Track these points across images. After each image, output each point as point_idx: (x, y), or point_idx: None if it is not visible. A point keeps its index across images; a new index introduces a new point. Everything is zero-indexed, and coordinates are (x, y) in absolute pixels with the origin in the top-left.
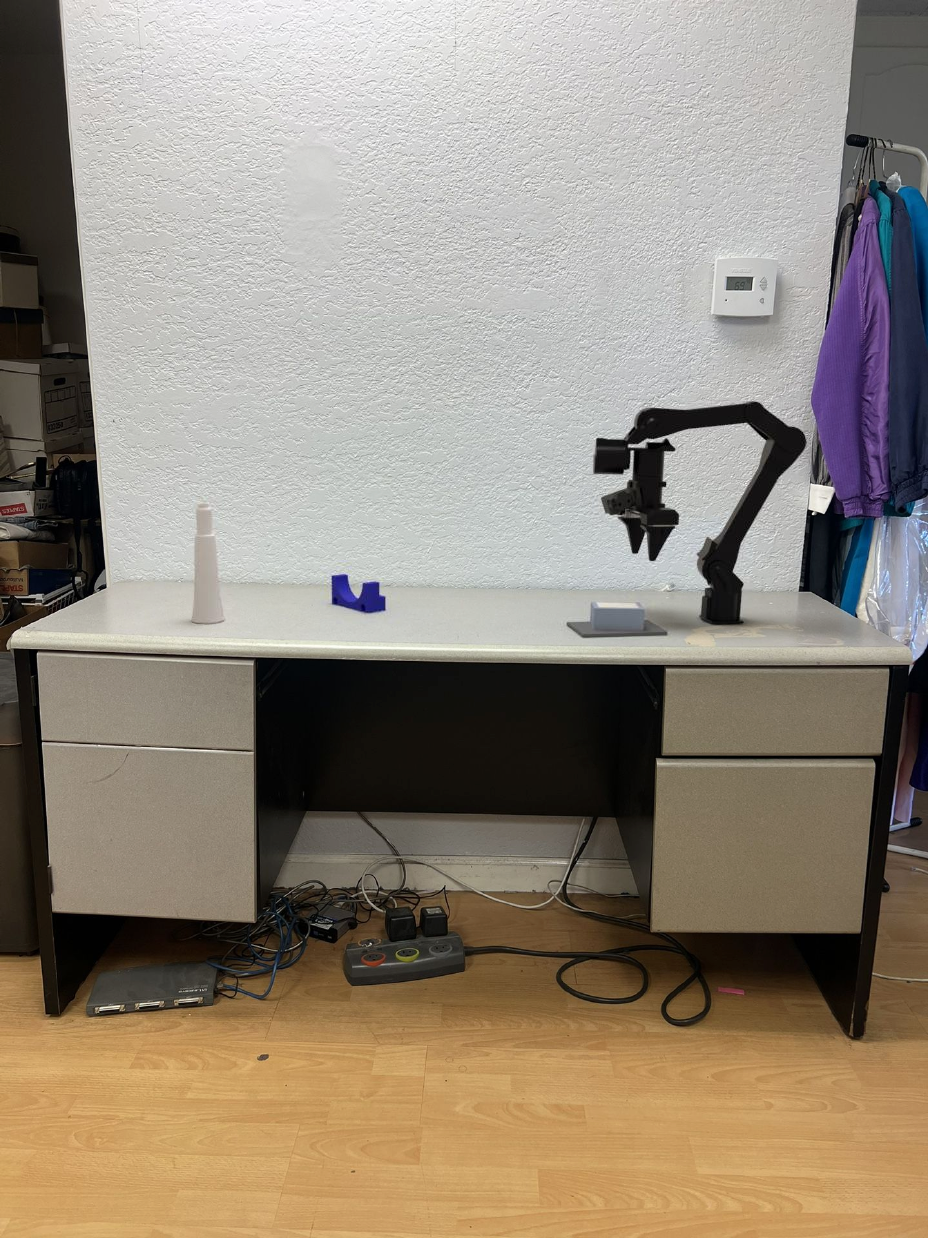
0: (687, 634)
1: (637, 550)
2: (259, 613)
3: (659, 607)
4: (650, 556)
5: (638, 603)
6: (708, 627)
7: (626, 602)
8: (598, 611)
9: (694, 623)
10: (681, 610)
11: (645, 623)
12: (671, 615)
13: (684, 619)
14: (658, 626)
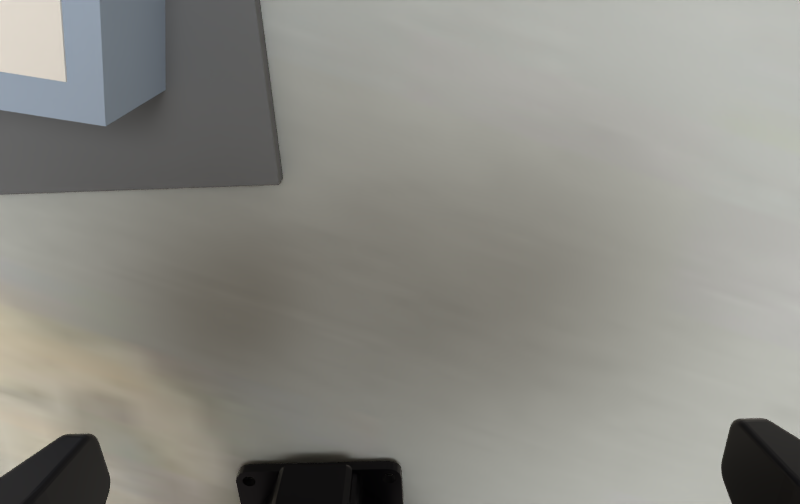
0: (13, 293)
1: (739, 501)
2: None
3: (688, 369)
4: (12, 479)
5: (69, 108)
6: (189, 430)
7: (95, 16)
8: None
9: (277, 403)
10: (586, 442)
11: (171, 137)
12: (474, 362)
13: (371, 390)
14: (95, 188)
